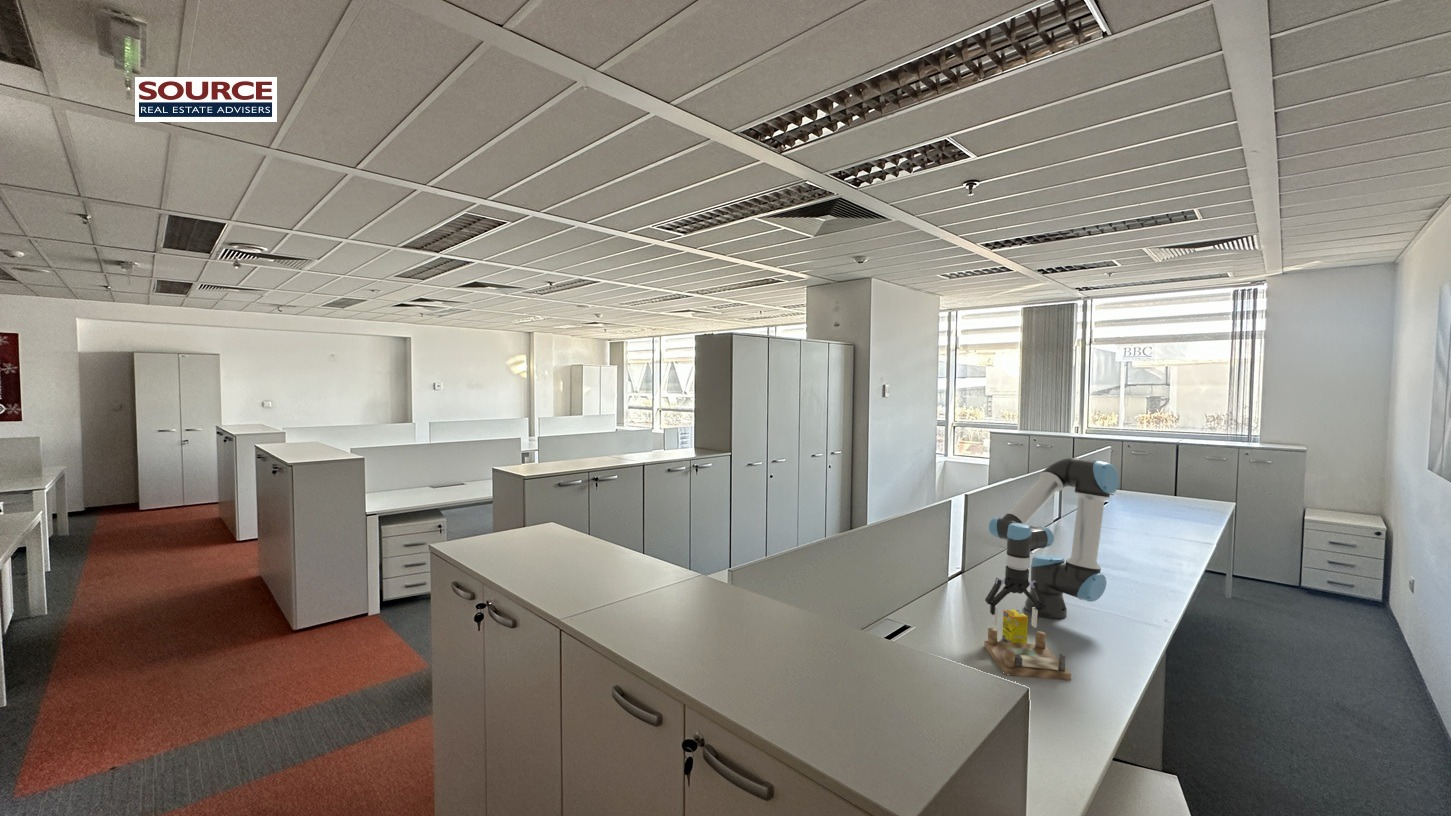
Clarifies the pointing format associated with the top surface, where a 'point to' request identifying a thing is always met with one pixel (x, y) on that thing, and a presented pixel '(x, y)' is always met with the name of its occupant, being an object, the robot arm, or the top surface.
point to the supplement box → (1014, 626)
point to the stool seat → (1006, 655)
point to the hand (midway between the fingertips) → (1014, 624)
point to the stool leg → (1036, 662)
